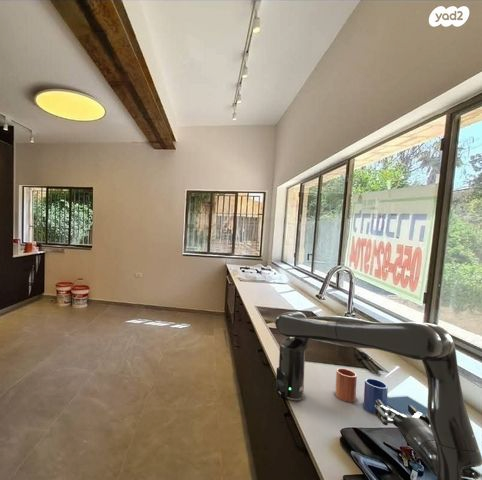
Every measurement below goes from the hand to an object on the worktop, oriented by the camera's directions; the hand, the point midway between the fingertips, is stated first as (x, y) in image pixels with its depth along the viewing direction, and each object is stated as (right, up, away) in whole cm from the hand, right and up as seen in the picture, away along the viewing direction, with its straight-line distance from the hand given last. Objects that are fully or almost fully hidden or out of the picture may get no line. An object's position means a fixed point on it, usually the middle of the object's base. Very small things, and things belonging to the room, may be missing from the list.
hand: (393, 404), depth 89 cm
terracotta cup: (-3, -8, +19) cm, 21 cm away
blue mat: (+17, -9, +12) cm, 23 cm away
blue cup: (+3, -9, +11) cm, 15 cm away
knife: (+28, -8, +47) cm, 55 cm away
